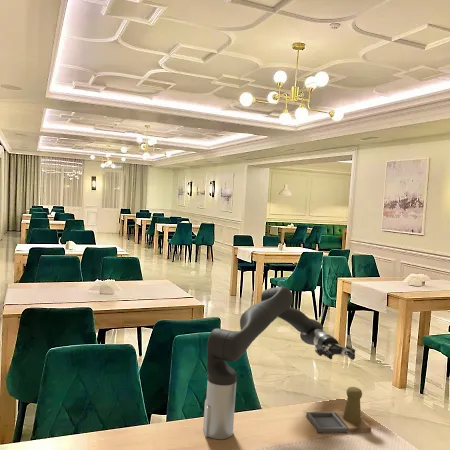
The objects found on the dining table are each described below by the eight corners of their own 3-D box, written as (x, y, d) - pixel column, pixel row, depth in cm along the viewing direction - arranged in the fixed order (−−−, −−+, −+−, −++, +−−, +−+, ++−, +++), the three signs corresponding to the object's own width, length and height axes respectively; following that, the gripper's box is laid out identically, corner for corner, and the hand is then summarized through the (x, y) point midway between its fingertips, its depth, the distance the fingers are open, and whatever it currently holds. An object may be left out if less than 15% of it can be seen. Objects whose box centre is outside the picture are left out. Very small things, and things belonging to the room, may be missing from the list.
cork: (357, 415, 168) (360, 385, 168) (363, 423, 162) (366, 392, 162) (341, 414, 168) (343, 384, 167) (345, 423, 162) (348, 391, 161)
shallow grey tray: (318, 433, 157) (318, 428, 157) (306, 416, 169) (306, 412, 168) (347, 432, 159) (347, 428, 158) (332, 415, 170) (333, 411, 170)
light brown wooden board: (348, 432, 159) (348, 428, 159) (334, 415, 170) (334, 411, 170) (370, 432, 160) (371, 427, 160) (355, 415, 172) (355, 411, 172)
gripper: (309, 333, 189) (325, 346, 173) (343, 334, 192) (361, 347, 176) (308, 352, 189) (323, 366, 173) (341, 353, 192) (359, 367, 176)
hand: (342, 356), depth 175 cm, fingers open, 8 cm apart
